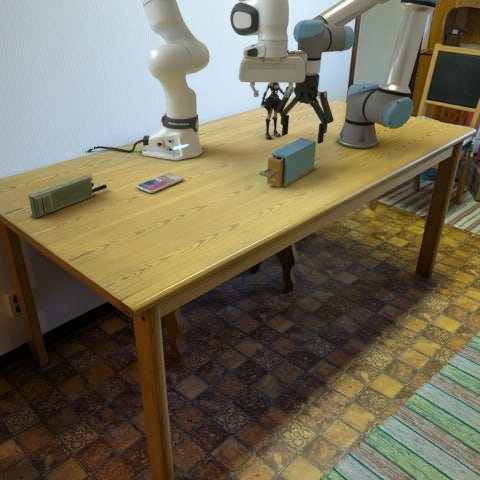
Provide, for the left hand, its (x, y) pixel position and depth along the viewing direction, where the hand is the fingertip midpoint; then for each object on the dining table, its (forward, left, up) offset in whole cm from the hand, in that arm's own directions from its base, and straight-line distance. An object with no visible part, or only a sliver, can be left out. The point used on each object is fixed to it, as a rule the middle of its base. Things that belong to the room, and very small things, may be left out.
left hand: (271, 96), depth 157 cm
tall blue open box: (+8, +4, -27) cm, 28 cm away
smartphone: (-33, -13, -27) cm, 45 cm away
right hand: (+10, +8, -15) cm, 20 cm away
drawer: (+5, -2, -26) cm, 27 cm away
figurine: (-5, +44, -27) cm, 52 cm away
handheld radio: (-54, -32, -27) cm, 69 cm away
